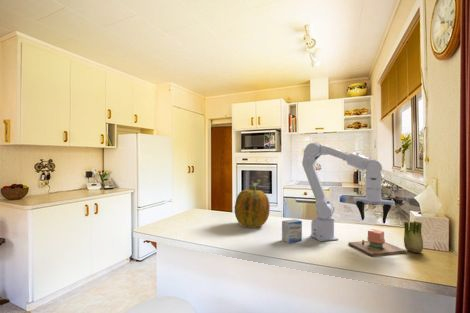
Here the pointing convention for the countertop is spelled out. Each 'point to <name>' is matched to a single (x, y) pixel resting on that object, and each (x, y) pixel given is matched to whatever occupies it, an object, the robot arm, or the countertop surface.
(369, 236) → the lid
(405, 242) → the fennel bulb
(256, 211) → the pumpkin
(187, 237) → the countertop surface
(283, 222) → the medicine box
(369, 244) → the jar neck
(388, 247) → the board
